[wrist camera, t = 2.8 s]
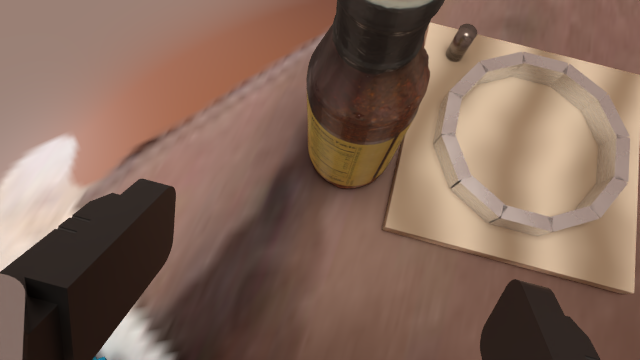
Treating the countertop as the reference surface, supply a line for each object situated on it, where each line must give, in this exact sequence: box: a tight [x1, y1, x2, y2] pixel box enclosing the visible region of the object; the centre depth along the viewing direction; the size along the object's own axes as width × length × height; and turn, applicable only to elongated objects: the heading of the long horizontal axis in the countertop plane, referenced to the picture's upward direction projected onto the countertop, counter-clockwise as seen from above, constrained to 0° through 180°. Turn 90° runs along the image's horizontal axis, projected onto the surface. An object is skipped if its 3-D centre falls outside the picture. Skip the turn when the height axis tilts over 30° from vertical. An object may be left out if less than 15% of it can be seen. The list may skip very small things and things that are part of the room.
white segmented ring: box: [433, 24, 630, 236], centre depth 31 cm, size 14×14×3 cm
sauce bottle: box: [307, 0, 445, 188], centre depth 23 cm, size 6×6×20 cm
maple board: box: [382, 23, 640, 294], centre depth 33 cm, size 18×18×1 cm
